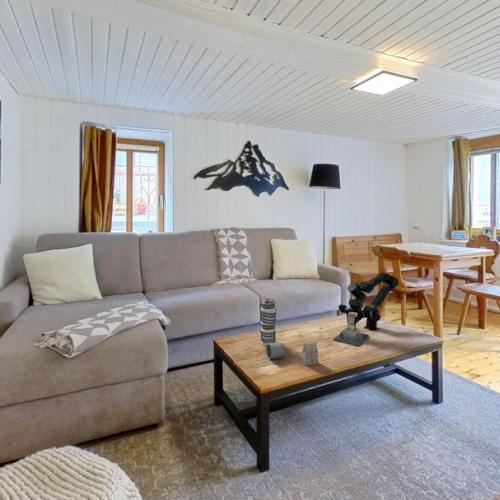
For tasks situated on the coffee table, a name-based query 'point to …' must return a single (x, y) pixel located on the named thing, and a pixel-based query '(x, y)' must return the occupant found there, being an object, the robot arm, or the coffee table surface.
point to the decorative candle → (268, 321)
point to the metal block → (351, 321)
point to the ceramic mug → (275, 350)
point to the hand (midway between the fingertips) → (350, 323)
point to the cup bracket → (351, 337)
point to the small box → (310, 354)
